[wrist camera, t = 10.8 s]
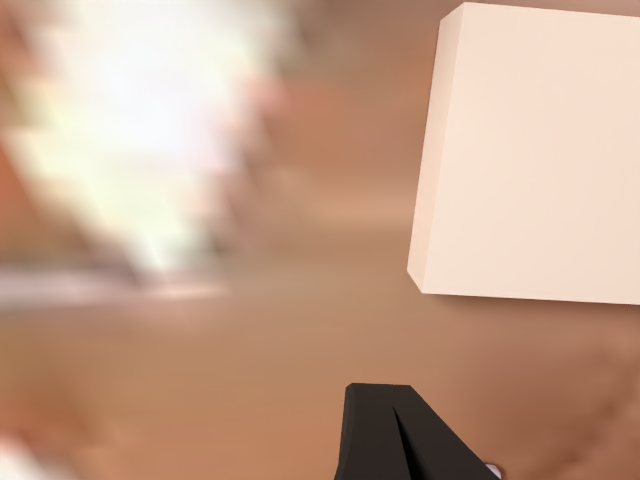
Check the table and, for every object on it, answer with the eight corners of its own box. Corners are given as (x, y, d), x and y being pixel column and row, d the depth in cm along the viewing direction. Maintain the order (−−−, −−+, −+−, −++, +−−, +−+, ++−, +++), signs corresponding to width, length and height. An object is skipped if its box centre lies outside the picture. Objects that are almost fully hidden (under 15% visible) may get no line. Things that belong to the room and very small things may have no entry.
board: (667, 285, 19) (719, 308, 17) (406, 270, 18) (422, 293, 16) (742, 46, 16) (818, 33, 14) (440, 20, 16) (464, 1, 13)
